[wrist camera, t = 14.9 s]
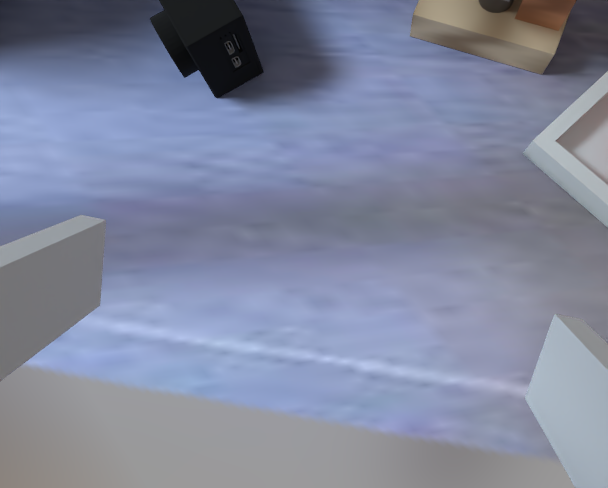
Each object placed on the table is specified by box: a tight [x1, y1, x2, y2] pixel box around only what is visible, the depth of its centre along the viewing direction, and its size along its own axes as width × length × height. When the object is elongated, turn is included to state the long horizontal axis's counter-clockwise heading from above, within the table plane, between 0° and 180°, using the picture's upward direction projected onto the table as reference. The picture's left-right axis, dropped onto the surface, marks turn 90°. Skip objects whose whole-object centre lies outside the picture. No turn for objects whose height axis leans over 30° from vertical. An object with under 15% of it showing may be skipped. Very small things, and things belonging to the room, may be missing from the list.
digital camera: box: [150, 0, 263, 98], centre depth 37 cm, size 10×5×7 cm, turn 29°
